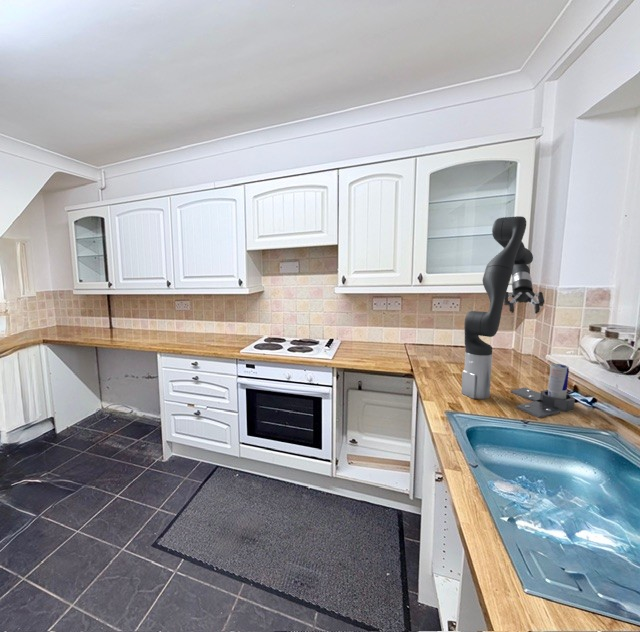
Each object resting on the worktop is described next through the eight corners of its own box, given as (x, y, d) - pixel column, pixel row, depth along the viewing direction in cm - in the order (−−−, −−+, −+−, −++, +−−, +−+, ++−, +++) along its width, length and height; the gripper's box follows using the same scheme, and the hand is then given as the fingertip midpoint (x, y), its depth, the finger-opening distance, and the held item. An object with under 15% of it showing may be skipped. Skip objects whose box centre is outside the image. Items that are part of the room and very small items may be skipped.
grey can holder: (540, 418, 96) (541, 407, 96) (490, 396, 114) (491, 386, 114) (579, 408, 103) (580, 397, 102) (525, 389, 120) (526, 379, 120)
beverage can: (568, 407, 104) (572, 366, 102) (558, 409, 102) (562, 368, 100) (553, 401, 109) (557, 362, 107) (543, 403, 107) (547, 363, 105)
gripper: (504, 278, 134) (506, 306, 125) (542, 278, 128) (547, 307, 119) (502, 289, 139) (503, 316, 131) (539, 289, 133) (543, 318, 125)
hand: (524, 312), depth 125 cm, fingers open, 8 cm apart
